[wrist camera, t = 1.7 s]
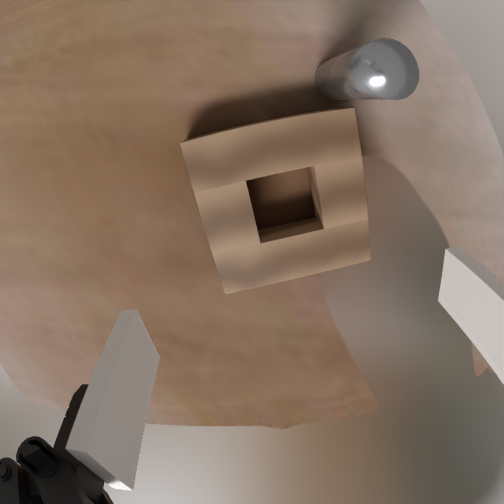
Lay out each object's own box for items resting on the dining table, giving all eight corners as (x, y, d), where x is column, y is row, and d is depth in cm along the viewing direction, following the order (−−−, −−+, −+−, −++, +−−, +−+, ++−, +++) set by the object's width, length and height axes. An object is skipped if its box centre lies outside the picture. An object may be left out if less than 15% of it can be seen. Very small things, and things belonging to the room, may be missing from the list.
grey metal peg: (311, 61, 26) (356, 38, 15) (351, 58, 26) (412, 39, 15) (320, 102, 28) (369, 101, 17) (359, 97, 28) (423, 98, 17)
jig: (185, 139, 29) (179, 143, 26) (341, 107, 28) (354, 107, 25) (225, 277, 36) (225, 294, 33) (359, 246, 35) (370, 260, 32)
